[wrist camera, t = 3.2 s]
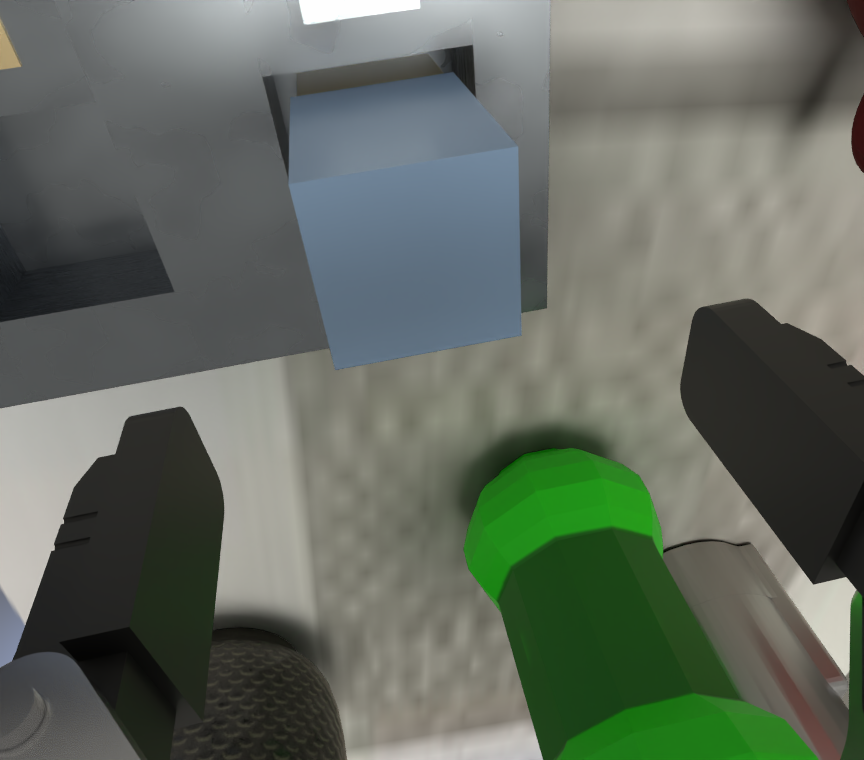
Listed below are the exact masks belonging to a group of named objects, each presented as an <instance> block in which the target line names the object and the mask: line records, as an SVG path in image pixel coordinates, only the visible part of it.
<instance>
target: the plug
mask: <svg viewBox="0 0 864 760" xmlns="http://www.w3.org/2000/svg"><path fill="white" fill-rule="evenodd" d="M288 185H289V189H290V193H291V197H292V200H293V204H294V208H295V212H296V216H297V220H298V224H299V228H300V232H301V236H302V240H303V244H304V248H305V252H306V256H307V260H308V264H309V268H310V272H311V276H312V280H313V284H314V288H315V292H316V296H317V300H318V304H319V308H320V312H321V316H322V319H323V323H324V327H325V331H326V335H327V339H328V343H329V347H330V351H331V355H332V359H333V363H334V367H335V370H339V369H344V368H349V367H355V366H360V365H365V364H371V363H376V362H382V361H387V360H392V359H398V358H403V357H409V356H414V355H419V354H425V353H430V352H435V351H441V350H446V349H452V348H457V347H462V346H468V345H473V344H478V343H484V342H489V341H495V340H500V339H505V338H511V337H516V336H522V333H521V276H520V219H519V162H518V146H517V144H516V143H515V142H514V141H513V140H512V139H511V138H510V136H509V135H508V134H507V133H506V132H505V131H504V130H503V128H502V127H501V126H500V125H499V124H498V123H497V122H496V120H495V119H494V118H493V117H492V116H491V115H490V114H489V112H488V111H487V110H486V109H485V108H484V107H483V106H482V104H481V103H480V102H479V101H478V100H477V99H476V98H475V96H474V95H473V94H472V93H471V92H470V91H469V90H468V88H467V87H466V86H465V85H464V84H463V83H462V82H461V80H460V79H459V78H458V77H457V76H456V75H455V74H454V72H450V73H443V72H442V70H441V69H440V68H439V67H438V65H437V64H436V63H435V62H434V61H433V59H432V58H431V57H430V56H429V54H428V53H427V54H420V55H414V56H407V57H401V58H394V59H388V60H381V61H374V62H368V63H361V64H355V65H348V66H342V67H335V68H329V69H322V70H315V71H309V72H302V73H297V96H295V97H290V135H289V179H288Z"/></svg>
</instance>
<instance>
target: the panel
mask: <svg viewBox="0 0 864 760" xmlns="http://www.w3.org/2000/svg"><path fill="white" fill-rule="evenodd" d="M550 3H551V0H0V408H4V407H10V406H15V405H21V404H26V403H32V402H37V401H43V400H48V399H54V398H59V397H64V396H70V395H75V394H81V393H86V392H92V391H97V390H103V389H108V388H114V387H119V386H124V385H130V384H135V383H141V382H146V381H152V380H157V379H163V378H168V377H174V376H179V375H185V374H190V373H195V372H201V371H206V370H212V369H217V368H223V367H228V366H234V365H239V364H245V363H250V362H255V361H261V360H266V359H272V358H277V357H283V356H288V355H294V354H299V353H305V352H310V351H315V350H321V349H326V348H330V347H329V343H328V339H327V335H326V331H325V327H324V323H323V319H322V316H321V312H320V308H319V304H318V300H317V296H316V292H315V288H314V284H313V280H312V276H311V272H310V268H309V264H308V260H307V256H306V252H305V248H304V244H303V240H302V236H301V232H300V228H299V224H298V220H297V216H296V212H295V208H294V204H293V200H292V197H291V193H290V189H289V185H288V179H289V135H290V97H295V96H297V73H302V72H309V71H315V70H322V69H329V68H335V67H342V66H348V65H355V64H361V63H368V62H374V61H381V60H388V59H394V58H401V57H407V56H414V55H420V54H427V53H428V54H429V56H430V57H431V58H432V59H433V61H434V62H435V63H436V64H437V65H438V67H439V68H440V69H441V70H442V72H443V73H450V72H454V74H455V75H456V76H457V77H458V78H459V79H460V80H461V82H462V83H463V84H464V85H465V86H466V87H467V88H468V90H469V91H470V92H471V93H472V94H473V95H474V96H475V98H476V99H477V100H478V101H479V102H480V103H481V104H482V106H483V107H484V108H485V109H486V110H487V111H488V112H489V114H490V115H491V116H492V117H493V118H494V119H495V120H496V122H497V123H498V124H499V125H500V126H501V127H502V128H503V130H504V131H505V132H506V133H507V134H508V135H509V136H510V138H511V139H512V140H513V141H514V142H515V143H516V144H517V146H518V162H519V219H520V276H521V313H523V312H528V311H534V310H539V309H545V308H547V248H548V166H549V85H550Z"/></svg>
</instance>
